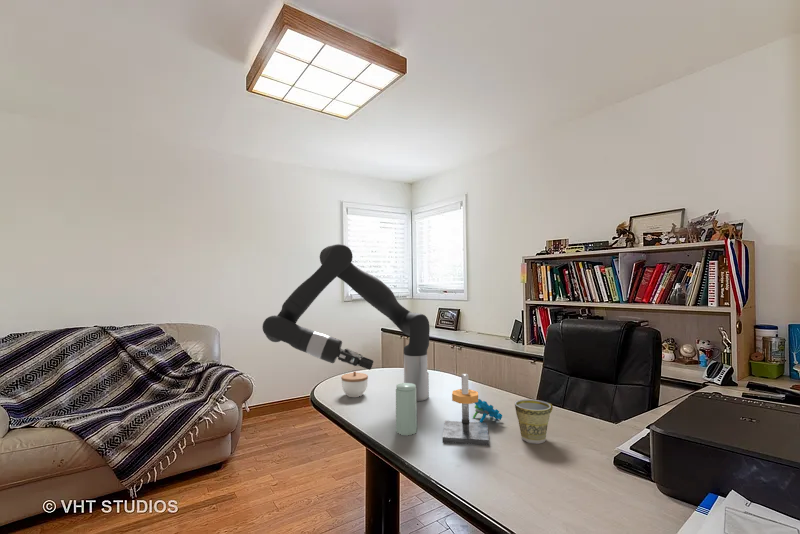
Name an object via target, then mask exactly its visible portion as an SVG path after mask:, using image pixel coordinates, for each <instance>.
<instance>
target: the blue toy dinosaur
mask: <svg viewBox="0 0 800 534" xmlns="http://www.w3.org/2000/svg"><path fill="white" fill-rule="evenodd" d="M474 404H475V405H474V408H475V410H474V411H475V412H474V414H473V416H472V419H476V417H477V415H478V414H481V415H482V416H481V418H480V420H479V422H478V423H484V421H485V419H486V417H487V416H489V417H491V418H494V419H495V420H500V421H502V418H503V414H502V413H501V412H500V410H498V409H496V408H495V409H494V406H493V405H492V404H488V402H487V401H485V400H482V399H481V398H478V402H476V403H474Z"/></svg>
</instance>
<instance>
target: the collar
mask: <svg viewBox="0 0 800 534" xmlns="http://www.w3.org/2000/svg"><path fill="white" fill-rule="evenodd" d="M468 391H469V394H462V388H460V389H456V390H452V393H451V397H452V399H451V401H452V402H454V403H457V404H461V405H462V404H469V405H471V404H475V403H476V402H478V399H479V392H478V391H476V390H473V389H469V388H468Z"/></svg>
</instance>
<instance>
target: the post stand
mask: <svg viewBox="0 0 800 534" xmlns="http://www.w3.org/2000/svg"><path fill="white" fill-rule="evenodd" d="M461 389H462V394H469V391H468V389H469V374H468V373H461ZM469 406H470V404H462V403H461V421H454V420H445V421H444V427H443V432H442V443H444V444H459V445H460V444H461V445H473V446H474V445H475V446H477V445H478V446H490V438H489V437H490V436H489V431H488V429H489V428H488V423H487V422H482V423H481V422H478V421H477V422H476V421H474V422H473V421H472V422H471V421H470V414H469V413H470V409H469V408H470V407H469Z"/></svg>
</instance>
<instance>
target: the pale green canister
mask: <svg viewBox="0 0 800 534" xmlns="http://www.w3.org/2000/svg"><path fill="white" fill-rule="evenodd" d="M417 416H418V415H417V401H416V385H415V384H412V383H404V382H402V383H397V384H396V389H395V432H397V434H398V433H399V434H398V435H400V434H401V435H400V436H408V435H409V436H412V434H413V435H416V434H417V431H418V430H417V429H418V427H417V425H418V424H417V423H418V421H417V419H418V417H417ZM415 433H416V434H415Z"/></svg>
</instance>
